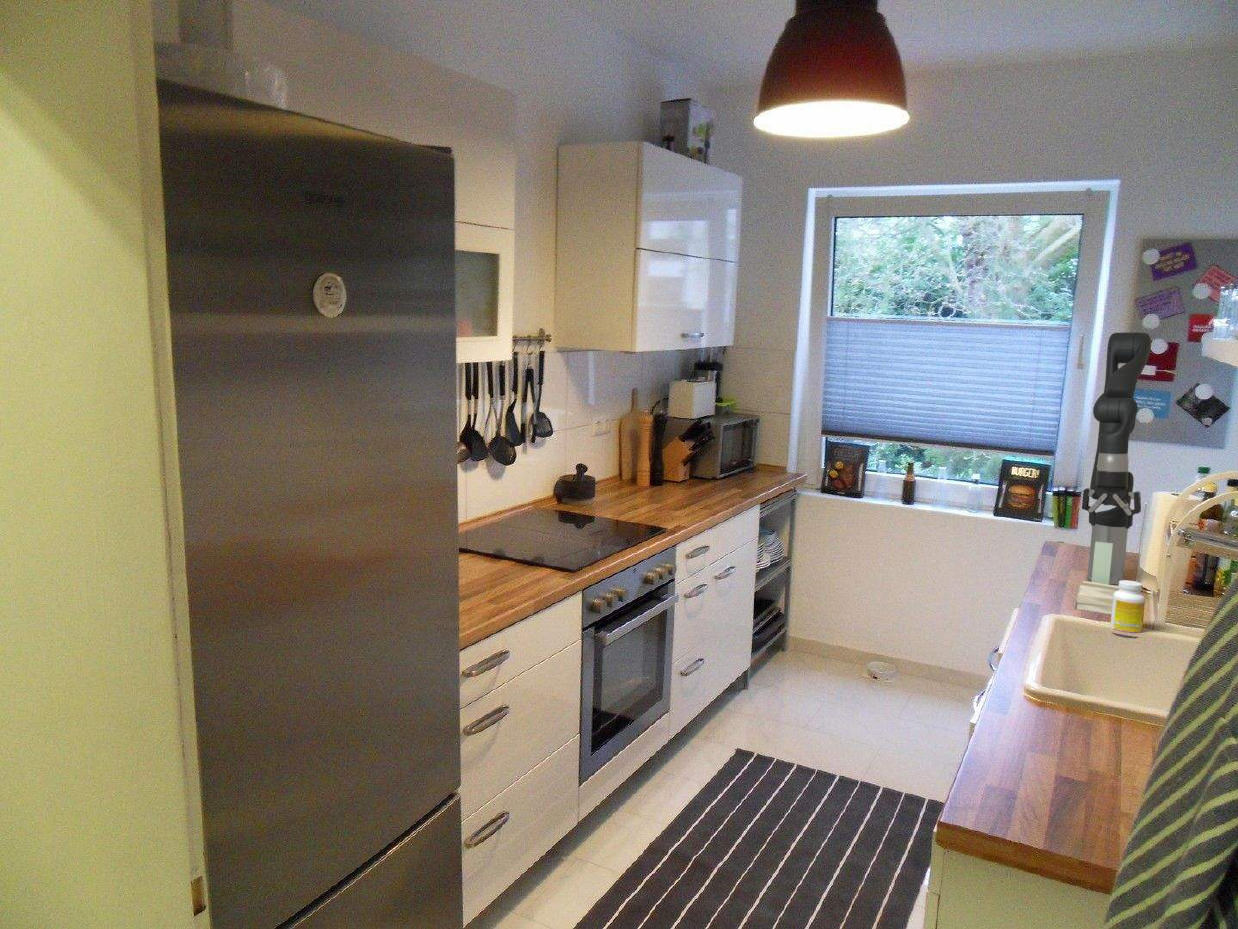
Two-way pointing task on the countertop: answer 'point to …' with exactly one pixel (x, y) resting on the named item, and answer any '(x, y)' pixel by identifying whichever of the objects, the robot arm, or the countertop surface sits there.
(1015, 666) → the countertop surface
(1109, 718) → the countertop surface
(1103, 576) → the sage slat
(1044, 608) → the countertop surface
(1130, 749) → the countertop surface
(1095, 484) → the robot arm
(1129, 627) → the supplement bottle
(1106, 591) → the offcut stack
